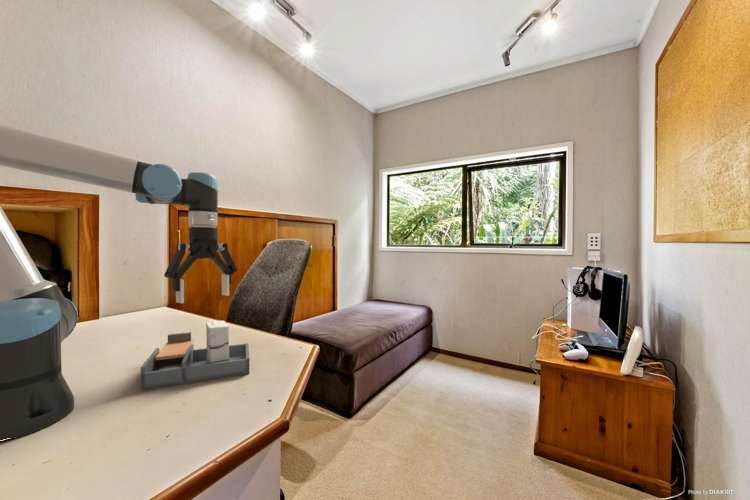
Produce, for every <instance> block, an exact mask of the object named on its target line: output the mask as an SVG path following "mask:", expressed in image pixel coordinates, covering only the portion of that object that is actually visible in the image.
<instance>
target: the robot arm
mask: <svg viewBox="0 0 750 500" xmlns="http://www.w3.org/2000/svg"><path fill="white" fill-rule="evenodd" d="M0 166H1V167H6V168H12V169H16V170H20V171H26V172H29V173H35V174H39V175H45V176H50V177H55V178H59V179H65V180H68V181H74V182H79V183H82V184H83V183H84V184H88V185H94V186H96V187H97V186H98V187H102V188H103V187H104V188H109V189H113V190H118V191H121V192H127V193H133V194H134V195H135V200H136V201H137V202H138V203H142V204H149V205H154V204H155V205H172V206H173V205H174V206H175V205H176V206H187V207H188V210H187V211H188V226H190V227H189V228H188V244H186V243H184V242H182V243H177V245H176V250H175V253H174V255H173V256H172V259H171V261H170V263H169V264H168V267H167V269H166V270H165V273H164V277H165V278H168V279H170V280H171V281H172V290H173V292H175V303H178V304H184V303H185V280H184V279H183V278H182V277H183V276H184V274H185V273H187V271H188V270H189V269H190V267H191V266H192V265H193V264H194V262H195V261H197V260H198V259H199V260H201V259H202V260H203V259H204V260H205V259H210V260H212V261H213V262H214V263H215V264H216V266H217V267H219V269H220V270H221V271H222V272H223V274H221V295H222V296H225V297H228V296H230V285H231V284H232V275H233V274H235V273H237V272H238V268H237V265H236V264H235V262H234V260H233V257H232V255H231V253H230V251H229V246H228V243H224V242H222V243H218V240H219V229H218V228H217V227H218V225H219V223H218V221H219V220H218V217H219V215H218V212H219V211H218V208H219V207H218V205H219V204H218V203H219V202H218V201H219V199H218V198H219V197H218V196H219V190H218V181H217V180H218V179H217V177H216V176H215V175H213V174H211V173H206V172H202V171H201V172H196V171H193V172H189V173H188V175H187V178H181V177H182V176H181V175H180V174H179V172H178V171H177V170H176V169H175V168H173V167H172V166H170V165H168V164H163V163H155V164H152V163H148V162H142V161H139V160H136V159H132V158H128V157H124V156H121V155H117V154H112V153H109V152H106V151H101V150H97V149H95V148H91V147H90V148H89V147H87V146H84V145H83V146H82V145H79V144H76V143H75V144H74V143H70V142H68V141H67V142H66V141H64V140H59V139H56V138H52V137H48V136H44V135H40V134H36V133H33V132H29V131H25V130H21V129H17V128H14V127H9V126H6V125H2V124H0ZM188 250H189V253H188V255H187V256H186V258H185V259H184V257H185V254H186V252H187V251H188ZM218 250H219V251H220V254H221V256H222V257H221V256H220V254H219V253H218ZM183 259H184V261H183ZM182 261H183V262H182ZM181 262H182V263H181ZM78 321H79V314H78V309H77V307H76V306H75V304H74V302H72V301H71V300H70V299H68V298H66V297H65V296H64V294H63V293H62V291H61V289H60V287H59V286H58V284H57V283H56V282H53V281H49V280H46V279H44V278H43V276H42V274H41V273H40V271H39V269H38V267H37V266H36V264H35V262H34V260H33V259H32V257H31V256H30V254H29V252H28V250H27V248H26V247H25V245H24V244H23V242H22V240H21V238H20V237H19V235H18V233H17V232H16V230H15V228H14V226H13V225H12V223H11V221H10V220H9V218H8V216H7V215H6V213H5V211H4V210H3V208H2V207H1V205H0V440H3V439H7V438H14V439H16V438H15V437H17V438H21V437H23V436H26V435H30V434H33V433H35V432H38V431H40V430H43V429H45V428H47V427H49V426H51V425H53V424H56V423H57V422H59V421H61V420H63V419H64V418H65V417H67V416H68V415H70V414H71V413H72V411H74V408H75V396H74V394H73V392H72V390H71V388H70V387H69V385H68V383H67V381H66V379H65V377H64V375H63V371H62V342H63V341H64V340H65V339H67V338H68V337H69V336H70V335H71V334H72V333H73V331H74V330H75V328H76V326H77V323H78ZM20 436H21V437H20Z"/></svg>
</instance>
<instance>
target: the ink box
mask: <svg viewBox="0 0 750 500" xmlns="http://www.w3.org/2000/svg"><path fill="white" fill-rule="evenodd" d="M205 324H206V325H205V327H206V335H205V336H206V348H207V363H208V364H210V363H218V362H225V361H229V346H230V338H229V337H230V334H229V333H230V330H229V328H230V327H229V325H228V324H227V322H226V321H225V320H214V321H213V320H212V321H207V322H206V323H205Z"/></svg>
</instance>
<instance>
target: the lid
mask: <svg viewBox="0 0 750 500" xmlns="http://www.w3.org/2000/svg"><path fill="white" fill-rule="evenodd" d="M192 344H194V339H192V331H190V332H189V331H188V332H180V333H170V334H167V341H166V343H165V344H164V346H163V347H162V348H161V349H160V350H159V353H158V355H157V356H156V357H155V359H156V360H163V359H171V358H179V357H185V355H186V353H187V351H188V349H189V347H190V345H192Z"/></svg>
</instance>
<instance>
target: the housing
mask: <svg viewBox="0 0 750 500" xmlns="http://www.w3.org/2000/svg"><path fill="white" fill-rule="evenodd" d="M159 352H160V348H159V347H158V348H155V349H154V350H153V351H152V353H151V354H150V356H148V358H147V359H146V360H145V361H144V363H143V364H142V365H141V367H140V391H147V390H153V389H161V388H167V387H172V386H173V387H174V386H179V385H186V384H192V383H193V384H194V383H200V382H206V381H213V380H218V379H220V380H221V379H224V378H232V377H238V376H245V375H249V374H250V349H249V343H247V342H246V343H241V344H229V361H225V362H218V363H210V364H208V363H207V347H206V348H198V349H197V348H196V349H195V345H194V343H193V344H192V345H190V347H189V349H188V351H187V353H186V355H185V357H179V358H171V359H163V360H156V359H155V357H156V356H157V355H158V353H159Z"/></svg>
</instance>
